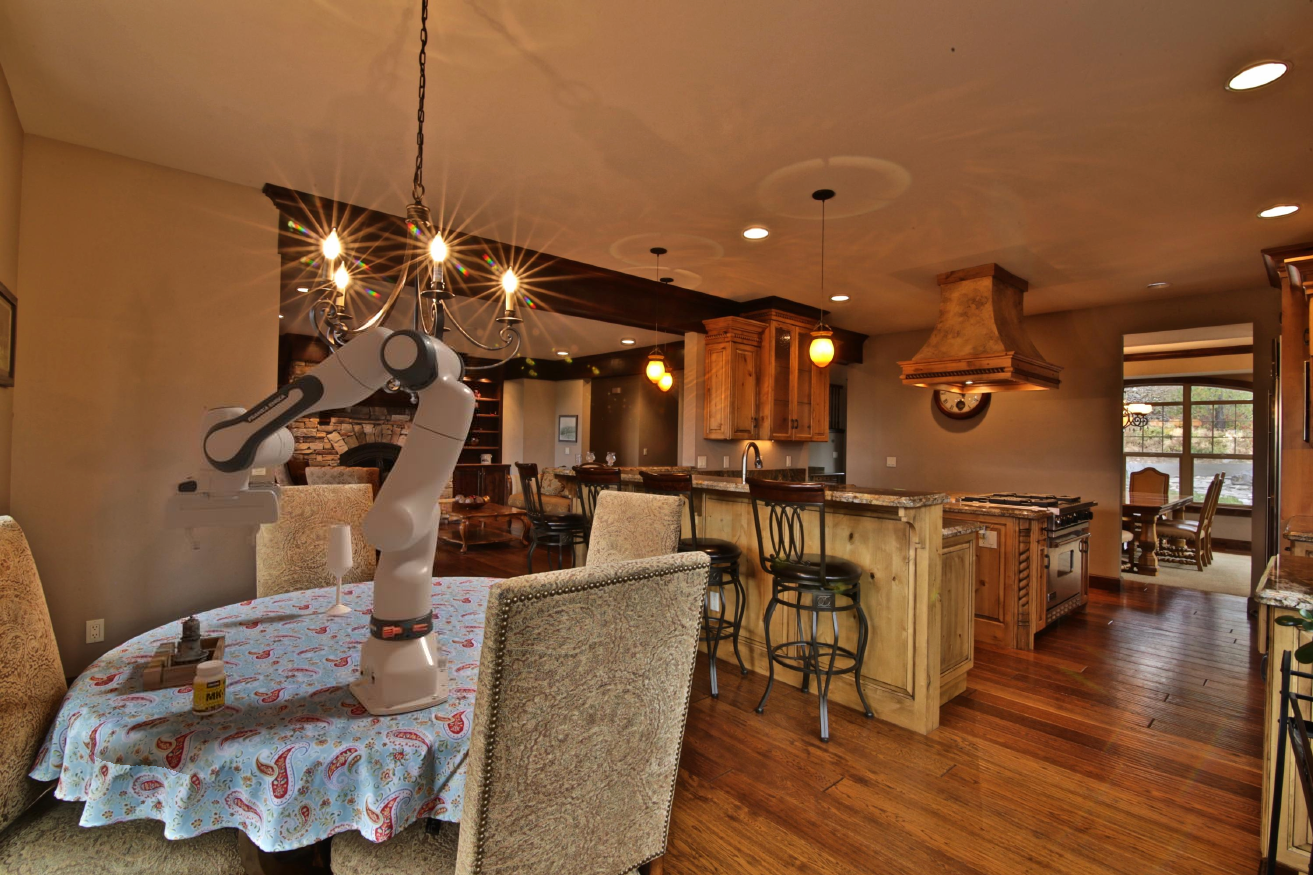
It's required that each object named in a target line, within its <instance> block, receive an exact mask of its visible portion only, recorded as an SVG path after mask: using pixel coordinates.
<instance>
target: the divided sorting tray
mask: <svg viewBox="0 0 1313 875" xmlns="http://www.w3.org/2000/svg"><path fill="white" fill-rule="evenodd" d="M176 644H177V646H176ZM200 647H201V650H205V651H208V653H209V654H208V655H207V658H206V660H205V662H207V661H213V660H221V661H223V659H224V655H225V651H226V635H219V636H210V637H200ZM181 648H182V640H178V641H177V643H176V641H168V642H166V641H165V642H160V643H159V645H158V647H157V649H156V651H155V652H154V653H153V655H152V657H151V659H150V661H149V662H148V664H147V665H146V667H145V669H144V671H143V672H142V692H145V691H151V690H153V691H154V690H158V689H165V688H172V687H178V686H184V685H185V686H186V685H194V678H195V677H196V676H197V666H198V665H199V664H201V663H196V664H189V665H182V666H176V665H175V664H174V661H173V659H172V658H173V657H174V656H176V655H178V654H180V652H181Z"/></svg>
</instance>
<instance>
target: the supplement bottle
mask: <svg viewBox="0 0 1313 875" xmlns="http://www.w3.org/2000/svg"><path fill="white" fill-rule="evenodd" d="M224 670H225V662H224V661H223V660H222V661H221V660H213V661H207V662H203V663H201V664H199V665H198V666H197V676H196V677H195V678H194V683H193V687H192V688H193V693H192V714H193V715H195V716H209V715H212V714H216V713H218V712H220V711H222V710H223V709H224V708H226V707H225V705H226V690H227V689H226V687H227V686H226V685H227V684H226V683H227V673H226V672H225V671H224Z"/></svg>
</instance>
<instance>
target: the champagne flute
mask: <svg viewBox="0 0 1313 875" xmlns="http://www.w3.org/2000/svg"><path fill="white" fill-rule="evenodd" d="M351 536H352V534H351V525H350V524H335V525H331V527H330V533H329V540H328V547H327V556H326V561H325V562H326V563H325V567H326V569H327V570H328V572H329V573H331V575H333V576H334V577H336V593H335V595H336V596H335V604H334V605H333V606H331V607H329V608H328V609H326V610H325V611H324V613H325V614H326V615H342V614H346V613H349V612H351V611H352V608H350V607H348V606H346V605H343V604H341V603H342V602H341V601H342V577H343V576H345V575H346V574H347V573H348V572H349V571H350V570H351V569H352V567H353V563H354V562H353V549H352V548H353V547H352V537H351Z"/></svg>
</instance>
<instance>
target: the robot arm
mask: <svg viewBox="0 0 1313 875" xmlns="http://www.w3.org/2000/svg"><path fill="white" fill-rule="evenodd" d="M465 375H466V366H465V363H464V361H463V358H462V356H461V355H460V354H459V353H458V352H457V351H456V350H455V349H453V348H452V347H450V346H448V345H447V344H445V343H444V342H443V341H442V340H440V339H438V338H436V337H434V336H431V335H428V334H425V333H424V332H422V331H420V330H417V329H411V328H410V329H407V328H406V329H399V330H396V331H394V330H391V329H389V328H387V327H383V326H376V327H372V328H370V329H368V330H366V331H364V332H362V333H361V334H359V335H357V336H355V337H354V338H352V339H351V340H349V341H348V342H346V343H345V344H343V345H342V346H341V347H339V348H338V349H337V350H335V351H334V352H333V353H332V354H330V355H329V356H328V357H326V359H324V360H323V361H321V362H320V363H319V364H317V365H316V366H314V367H313V368H311V369H310V370H308V371H307V372H305V373H303V374H302V375H301V376H300V375H299V377H297V378H296V379H294V380H292V381H291V382H288V383H286V385H284V386H283V387H281V388H280V389H279V388H278V390H277V391H275V392H273V393H272V394H270V395H269V396H267V397H266V398H264V399H262V400H261V401H260V402H259V403H257V404H256V405H254V406H252V407H251V408H249V409H248V410H247V409H246V408H244V407H241V406H221V407H215V408H209V409H208V410H206V411H205V412H204V413H203V415H202V416H201V418H200V422H199V430H198V451H199V454H200V462H199V465H198V471H197V472H198V474H197V475H196V476H189V477H187V478H185V479H181V480H176V481H174V482H173V483H172V484H171V486H170V491H171V493H172V494H171V495H170V496H168V497H167V499H166V501H165V502H164V503H165V505H164V508H163V516H162V526H163V528H165V529H166V530H183V529H184V535H185V537H186V538H187V539H188V541H190V545H191V546H190V548H191V551H193V550H194V551H195V550H201V548H202V547H201V546H202V544H201V543H202V540H201V539H196V538H195V536H194V535H193V533H194V532H195V529H198V528H199V529H200V528H201V529H202V528H215V527H216V528H217V527H234V526H235V527H236V526H249V525H251V526H252V530H254V531H253V532H252V534H251V535H250V536H246V537H245V546H247V547H248V546H255V537H256V536H257V535H258V533H259V531H260V530H261V525H265V524H266V525H268V524H276V523H277V522H279V520H280V507H279V503H278V502H279V501H280V499H281V498H282V488H281V486H280V484H278V483H275V482H274V481H271V480H270V481H269V480H267V481H250V470H258V469H266V468H275V467H279V466H282V465H284V464H286V463H288V462H289V461H290V460H291V459H292V457H293V456H294V454H295V450H296V440H295V437H294V435H293V433H292V432H291V430H290V429H289V428H287V426H288V425H290V424H291V423H293V422H295V421H296V420H297V419H300V418H301V417H303V416H306V415H308V414H313V413H316V412H320V411H326V410H327V411H328V410H333V409H343V408H348V407H351V406H354V405H356V404H358V403H360V402H362V401H364V400H365V399H367V398H369V397H370V396H371V395H373V394H374V393H375V392H376V391H378V390H379V389H380V388H382V387H383V385H385V384H386V383H387V382H388V381H391V380H393V379H395V380H396V381H397V382H399V383H400V384H401V385H403V386H404V387H405V388H406V389H407V390H409V391H410V392H417V395H418V398H419V401H418V406H417V410H416V412H415V415H414V417H413V419H412V422H411V424H410V427H409V430H408V432H407V434H406V437H405V439H404V443H403V444H402V447H401V450H400V452H399V454H398V457H397V459H396V461H395V462H394V465H393V467H392V468H391V470H390V472H389V473H388V475H387V477H386V479H385V480H384V482H383V484H382V485H381V487H380V489H379V491H378V494H377V495H376V497H375V499H374V501H373V503H372V504H371V507H370V508H369V510H368V511H367V512H366V514H365V516H364V518H363V521H362V526H361V527H362V533H363V537H364V539H365V541H366V542H367V544H369V545H370V546H371V547H372V548H374V549H376V550H378V551H380V554H379V559H378V563H377V566H376V570H375V572H374V574H373V575H374V577H373V592H372V594H373V595H372V597H373V598H372V599H373V600H372V613H371V614H370V619H369V633H370V635H369V637H368V638H367V639H366V640H365V641H364V642H363V643H362V644H361V646H360V659H359V660H360V661H359V676H358V678H357V679H355V680H353V681H351V682H350V683H349V687H348V690H349V691H350V692H351V693H352V694H353V696H354V697H355V698H356V699H357V700H358V701H359V703H360V704H361V705H362V706H363V707H364V709H366V710H367V712H368V713H369V714H371V715H379V716H382V715H385V716H387V715H394V714H401V713H402V714H403V713H408V712H414V711H418V710H422V709H423V710H424V709H426V708H430V707H435V706H436V705H439V704H442V703H444V702H446V701H448V700H449V699H450V693H449V692H450V691H449V690H450V689H449V688H450V687H449V672H448V667H447V656H446V655H441V656H440V655H439V656H438V653H440V652H443V644H438V640H439V634H438V633H437V632H435V631H434V614H433V613H434V612H433V609H432V607H431V606H432V605H431V604H432V583H433V580H432V578H433V567H434V563H435V555H436V551H437V550H436V549H437V542H438V537H439V536H438V535H439V525H440V519H441V513H442V511H441V505H440V503H439V500H440V497H441V496H442V494H443V492H444V490H445V488H446V486H447V484H448V482H449V481H450V479H451V478H452V476H453V472H454V471H455V468H456V465H457V462H458V461H459V460H458V459H459V457H460V454H461V453H462V450H463V448H464V445H465V442H466V439H467V437H468V433H469V432H470V431H469V430H470V427H471V423H472V421H473V416H474V412H475V407H476V397H475V396H476V395H475V393H474V391H473V390H472V389H471V388H470V387H468V386H467V385H466V384H465V383H463V380H464V379H465Z"/></svg>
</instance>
